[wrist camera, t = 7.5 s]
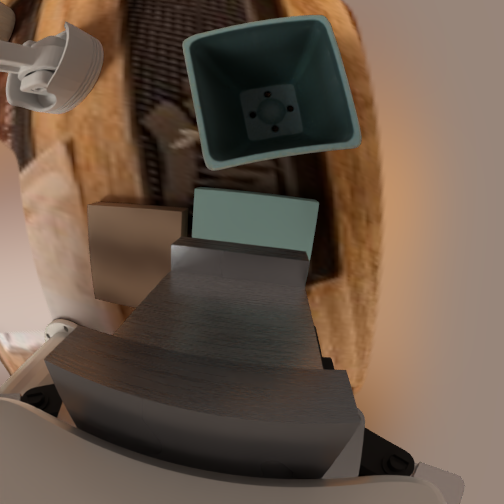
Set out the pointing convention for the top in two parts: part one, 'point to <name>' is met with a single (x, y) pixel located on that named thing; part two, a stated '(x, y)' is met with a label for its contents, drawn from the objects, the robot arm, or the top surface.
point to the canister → (6, 22)
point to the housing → (214, 369)
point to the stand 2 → (254, 218)
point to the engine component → (52, 70)
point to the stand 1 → (131, 248)
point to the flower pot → (270, 91)
